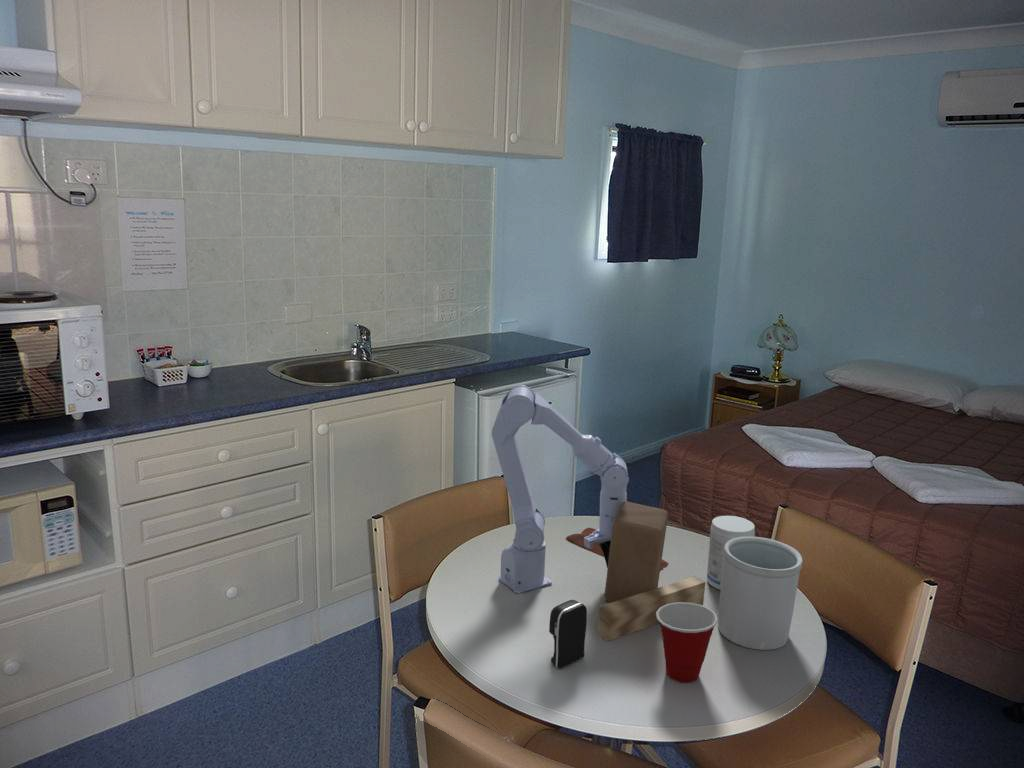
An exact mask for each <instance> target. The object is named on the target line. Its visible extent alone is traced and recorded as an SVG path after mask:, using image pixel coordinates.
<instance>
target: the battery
mask: <svg viewBox="0 0 1024 768" xmlns="http://www.w3.org/2000/svg"><path fill="white" fill-rule="evenodd" d="M587 618H588V608H587V606H586V605H585V604H584V603H583V602H579V601H578V600H576V599H570V600H566V601H565V602H562V603H559V604H558V605H556V606H555V607H553V608H552V609H551V611H550V615H549V626H548V627H549V629H548V631H549V634H551V635H552V636H553V641H554V642H553V643H554V644H553V645H554V646H553V649H554V650H553V656H552V657H551V658H550V662H551V664H552V665H554V667H556V668H557V669H560V670H561V669H563V668H565V667H567V666H571V665H572V664H573V663H576V662H578V661H579V660H580V659H583V658H584V657H585V646H586V645H585V644H586V642H585V641H586V634H587V621H588V619H587Z"/></svg>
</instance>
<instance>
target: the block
mask: <svg viewBox="0 0 1024 768" xmlns="http://www.w3.org/2000/svg"><path fill="white" fill-rule="evenodd" d="M668 519H669V513H668V511H667V510H665V509H662V508H658V507H653V506H648V505H643V504H640V503H635V502H631V501H627V502H623V503H622V505H621V507H620V509H619V511H618V513H617V515H616V517H615V520H614V522H613V527H612V535H611V544H610V552H609V561H608V568H606V580H605V587H604V596H603V597H604V601H605V602H607V604H609V603H612V602H615V601H618V600H621V599H624V598H628V597H631V596H634V595H637V594H640V593H643V592H646V591H650V590H653V589H656V588H659V587H658V586H659V582H660V574H661V571H660V568H661V561H662V559H663V553H664V546H665V540H666V532H667V525H668Z"/></svg>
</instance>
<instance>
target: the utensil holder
mask: <svg viewBox="0 0 1024 768" xmlns="http://www.w3.org/2000/svg"><path fill="white" fill-rule="evenodd" d="M724 555H725V558H724V566H723V574H722V584H721V590H720V594H719V605H718V615H717V619H718V621H717V626H718V629H719V632H720V634H721V635H722V636H723V637H724V638H726V639H727V640H729V641H730V642H732V643H734V644H736V645H738V646H741V647H743V648H746V649H747V648H748V649H752V650H759V651H760V650H761V651H771V650H777V649H779V648H782V647H784V646H785V645H786V644H787V642H788V640H789V637H790V630H791V625H792V619H793V614H794V608H795V602H796V601H795V600H796V595H797V591H798V586H799V585H798V584H799V579H800V578H799V577H800V571H801V570H802V567H803V562H804V561H803V558H802V554H801V553H800V552H799V551H798V550H797V549H796V548H794V547H792V546H790V545H789V544H786V543H784V542H780V541H778V540H775V539H772V538H766V537H761V536H755V537H737V538H734V539H731V540H729V541H728V542H727V543H726V544H725V547H724Z"/></svg>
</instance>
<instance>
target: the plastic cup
mask: <svg viewBox="0 0 1024 768" xmlns="http://www.w3.org/2000/svg"><path fill="white" fill-rule="evenodd" d="M656 615H657V620H658V621H659V623H658V624H659V625H660V626H659V627H660V630H661V635H662V643H663V653H664V659H665V660H664V661H665V670H666V674H667V675H668V677H669V678H671V679H672V680H674V681H676V682H678V683H686V684H688V683H693V682H695V681H697V680H698V677H699V676H700V673H701V670H702V666H703V663H704V662H705V658H706V654H707V651H708V648H709V643H710V639H711V637H712V635H713V631H714V629H715V626H716V624H718V615H717V613H715V612H714V611H713V610H712V609H711V608H709V607H706V606H704V605H703V606H702V605H699V604H694V603H685V602H677V603H671V604H667V605H664V606H662V607H660V608H659V609H658V611H657V612H656Z"/></svg>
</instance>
